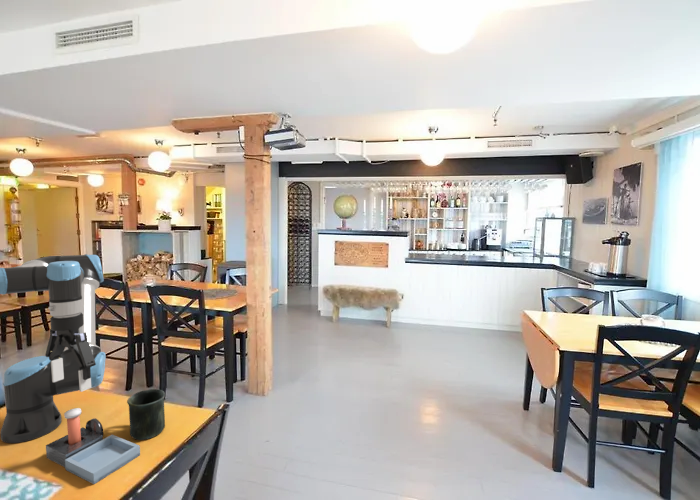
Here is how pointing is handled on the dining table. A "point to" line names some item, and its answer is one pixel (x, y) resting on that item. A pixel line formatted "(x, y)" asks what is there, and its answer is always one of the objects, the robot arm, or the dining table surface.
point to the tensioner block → (63, 450)
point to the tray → (102, 458)
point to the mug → (146, 414)
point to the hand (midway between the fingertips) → (71, 385)
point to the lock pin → (73, 425)
